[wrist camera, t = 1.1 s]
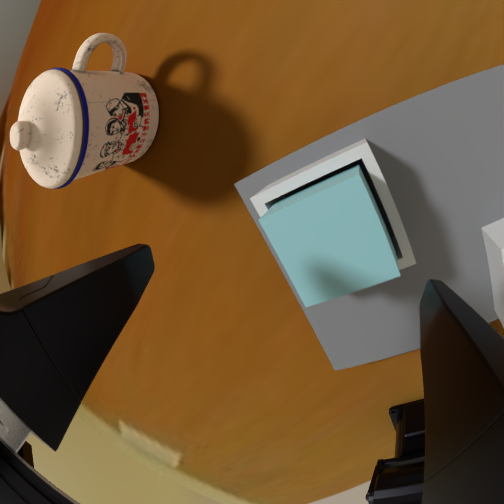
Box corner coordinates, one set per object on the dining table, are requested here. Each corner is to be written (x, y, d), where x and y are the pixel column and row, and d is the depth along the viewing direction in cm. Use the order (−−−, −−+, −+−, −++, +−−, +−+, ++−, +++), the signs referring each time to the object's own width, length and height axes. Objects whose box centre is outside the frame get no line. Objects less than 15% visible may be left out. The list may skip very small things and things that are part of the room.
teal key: (395, 249, 15) (400, 275, 13) (315, 278, 18) (305, 307, 15) (358, 164, 14) (359, 174, 12) (275, 202, 17) (258, 219, 14)
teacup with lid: (146, 180, 26) (42, 225, 16) (85, 146, 27) (-11, 174, 17) (191, 52, 20) (75, 28, 10) (116, 34, 20) (11, 25, 10)
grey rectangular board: (560, 262, 15) (594, 301, 10) (339, 347, 26) (328, 401, 21) (511, 62, 12) (555, 49, 6) (249, 176, 22) (210, 197, 17)
